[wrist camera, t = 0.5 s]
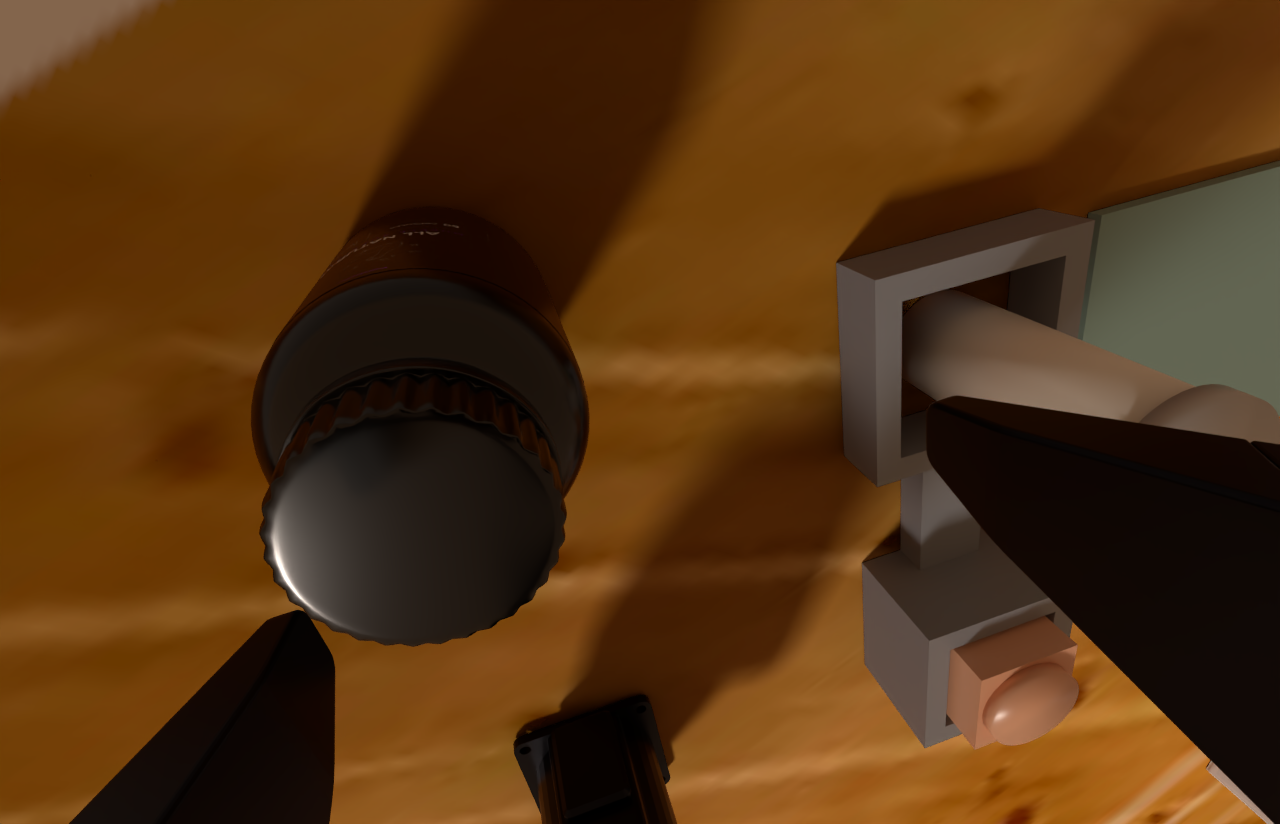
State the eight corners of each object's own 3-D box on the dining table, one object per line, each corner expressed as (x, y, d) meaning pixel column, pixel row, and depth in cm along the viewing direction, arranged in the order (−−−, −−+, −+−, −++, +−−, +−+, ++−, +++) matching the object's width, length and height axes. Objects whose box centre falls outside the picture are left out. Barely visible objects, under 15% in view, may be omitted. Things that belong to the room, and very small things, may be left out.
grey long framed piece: (995, 616, 35) (1071, 691, 31) (852, 668, 34) (910, 753, 30) (1039, 208, 25) (1163, 234, 21) (836, 262, 24) (922, 301, 19)
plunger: (983, 632, 33) (1075, 726, 28) (904, 660, 32) (984, 762, 28) (989, 566, 31) (1090, 656, 26) (905, 595, 30) (992, 693, 26)
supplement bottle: (392, 153, 19) (319, 237, 8) (587, 282, 22) (711, 461, 11) (281, 347, 20) (103, 623, 10) (478, 442, 23) (499, 730, 13)
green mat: (1271, 409, 34) (1284, 414, 33) (1049, 483, 32) (1059, 490, 31) (1358, 138, 27) (1375, 140, 27) (1088, 212, 26) (1102, 215, 25)
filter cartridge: (982, 374, 28) (1253, 521, 18) (884, 403, 27) (1112, 572, 18) (990, 268, 26) (1302, 375, 16) (883, 298, 25) (1144, 427, 16)
